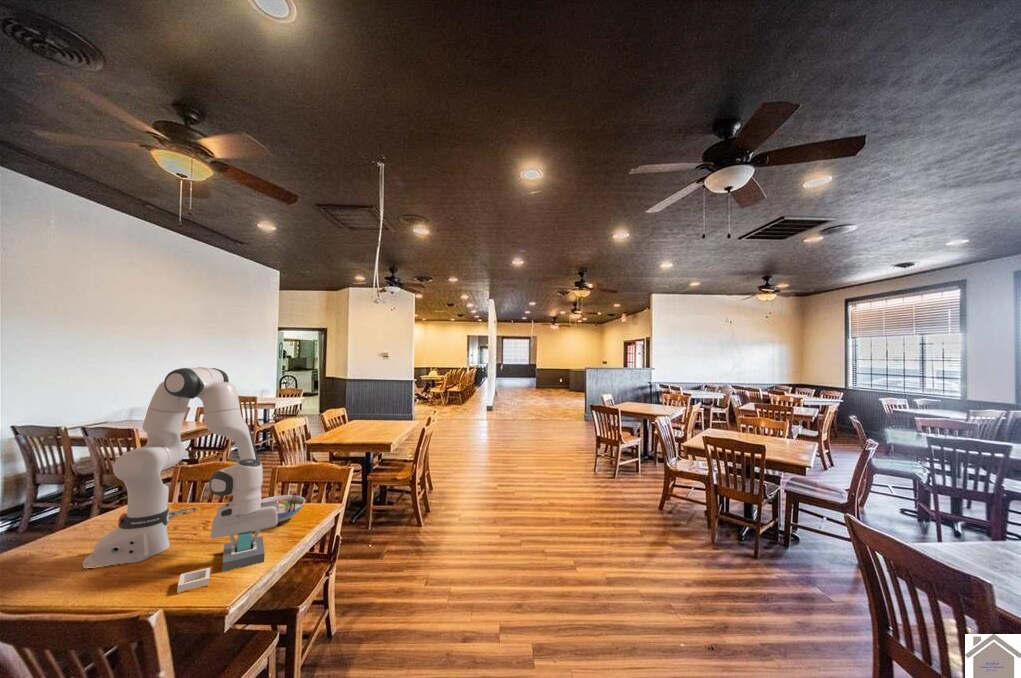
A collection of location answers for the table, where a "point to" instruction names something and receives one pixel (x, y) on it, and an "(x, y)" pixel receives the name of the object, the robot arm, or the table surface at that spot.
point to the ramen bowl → (286, 505)
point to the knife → (181, 512)
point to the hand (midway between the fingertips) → (244, 543)
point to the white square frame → (193, 576)
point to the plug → (244, 541)
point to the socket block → (243, 555)
